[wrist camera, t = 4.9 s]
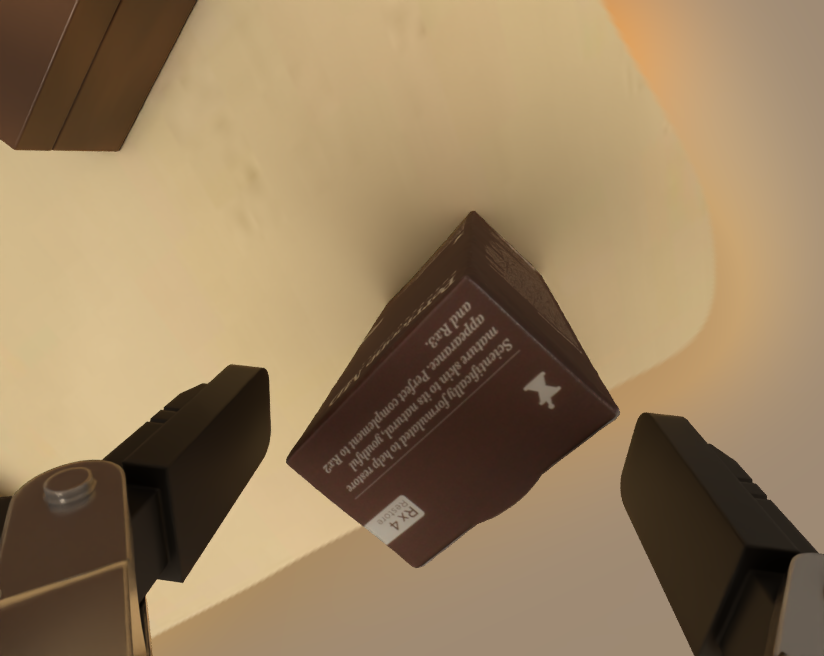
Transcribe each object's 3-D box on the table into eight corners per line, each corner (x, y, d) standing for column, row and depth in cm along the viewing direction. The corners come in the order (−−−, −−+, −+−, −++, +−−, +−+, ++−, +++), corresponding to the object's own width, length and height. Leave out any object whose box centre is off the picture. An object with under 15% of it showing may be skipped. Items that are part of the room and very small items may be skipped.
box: (467, 202, 19) (469, 266, 8) (543, 275, 20) (644, 427, 9) (374, 304, 21) (273, 468, 10) (447, 367, 22) (429, 587, 11)
